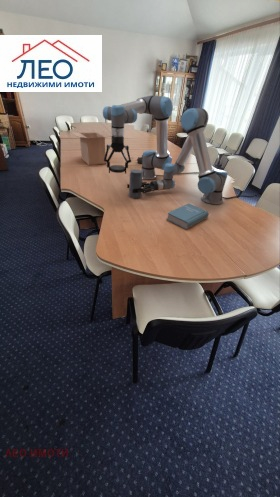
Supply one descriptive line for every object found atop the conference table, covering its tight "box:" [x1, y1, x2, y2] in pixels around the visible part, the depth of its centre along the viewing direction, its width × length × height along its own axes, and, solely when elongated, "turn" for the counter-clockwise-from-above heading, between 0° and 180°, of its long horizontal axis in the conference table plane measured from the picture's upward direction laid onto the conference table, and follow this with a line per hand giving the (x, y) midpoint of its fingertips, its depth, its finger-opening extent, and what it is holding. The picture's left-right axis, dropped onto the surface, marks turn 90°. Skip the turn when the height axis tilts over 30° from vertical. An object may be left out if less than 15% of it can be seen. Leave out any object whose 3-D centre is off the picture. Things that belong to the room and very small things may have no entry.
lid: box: [110, 164, 125, 174], centre depth 145 cm, size 10×10×2 cm
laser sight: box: [136, 154, 143, 165], centre depth 237 cm, size 10×22×10 cm, turn 78°
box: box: [70, 129, 112, 166], centre depth 229 cm, size 44×36×27 cm
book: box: [166, 203, 209, 230], centre depth 143 cm, size 23×16×5 cm
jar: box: [128, 168, 143, 199], centre depth 164 cm, size 9×9×19 cm
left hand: (117, 172), depth 147 cm, fingers closed on lid, 10 cm apart
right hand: (129, 188), depth 164 cm, fingers closed on jar, 9 cm apart
